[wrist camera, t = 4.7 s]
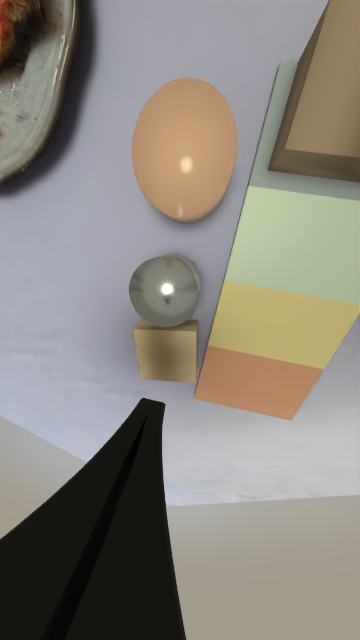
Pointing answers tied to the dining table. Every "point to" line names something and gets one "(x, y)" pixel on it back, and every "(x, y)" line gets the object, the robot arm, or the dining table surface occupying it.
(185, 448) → the dining table surface
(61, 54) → the food plate
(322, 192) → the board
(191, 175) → the peach smooth rounded cylinder
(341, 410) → the dining table surface
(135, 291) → the tin
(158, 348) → the oak block
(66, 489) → the robot arm
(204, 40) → the dining table surface
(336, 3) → the brown rectangular block
